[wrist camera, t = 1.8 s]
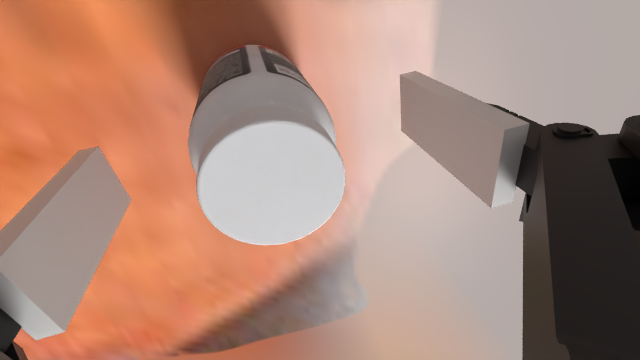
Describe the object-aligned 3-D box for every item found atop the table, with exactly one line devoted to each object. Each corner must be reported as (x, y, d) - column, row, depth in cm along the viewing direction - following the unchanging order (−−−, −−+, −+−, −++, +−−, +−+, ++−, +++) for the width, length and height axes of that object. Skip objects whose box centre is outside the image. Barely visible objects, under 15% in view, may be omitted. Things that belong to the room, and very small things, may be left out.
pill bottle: (216, 148, 19) (201, 272, 11) (189, 48, 16) (141, 116, 8) (308, 134, 20) (359, 239, 12) (300, 37, 17) (361, 88, 9)
